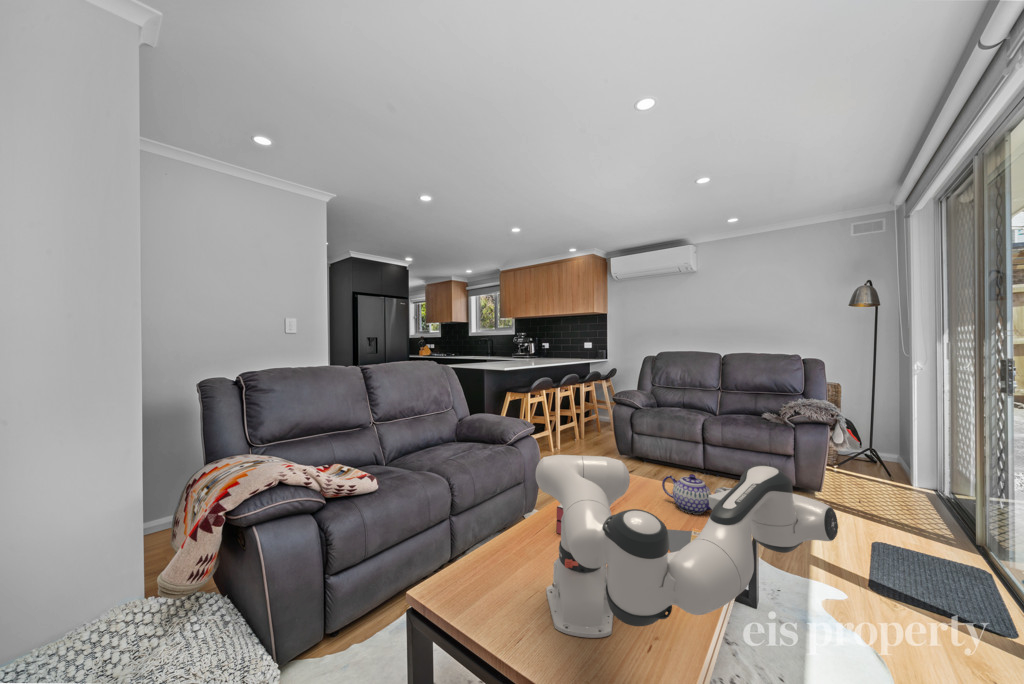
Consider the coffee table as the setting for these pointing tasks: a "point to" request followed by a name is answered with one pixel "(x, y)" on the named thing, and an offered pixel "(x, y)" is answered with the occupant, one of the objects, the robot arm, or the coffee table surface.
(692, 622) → the coffee table surface
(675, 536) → the mat
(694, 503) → the teapot
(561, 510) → the puzzle cube
